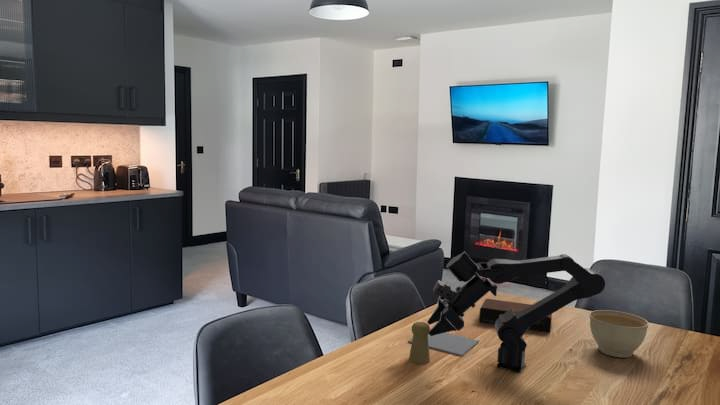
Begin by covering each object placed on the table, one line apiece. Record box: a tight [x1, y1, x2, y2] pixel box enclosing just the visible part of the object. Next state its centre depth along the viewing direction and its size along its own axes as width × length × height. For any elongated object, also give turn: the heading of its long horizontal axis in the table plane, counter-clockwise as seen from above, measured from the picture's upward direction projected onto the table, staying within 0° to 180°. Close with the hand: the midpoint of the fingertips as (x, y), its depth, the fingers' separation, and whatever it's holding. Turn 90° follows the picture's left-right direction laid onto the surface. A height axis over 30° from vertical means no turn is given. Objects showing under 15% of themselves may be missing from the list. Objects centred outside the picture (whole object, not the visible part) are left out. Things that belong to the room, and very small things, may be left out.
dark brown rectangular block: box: [478, 298, 553, 334], centre depth 186 cm, size 24×12×6 cm, turn 68°
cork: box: [408, 321, 431, 365], centre depth 151 cm, size 6×6×11 cm
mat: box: [407, 328, 480, 357], centre depth 165 cm, size 18×14×1 cm
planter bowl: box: [589, 309, 649, 358], centre depth 161 cm, size 16×16×11 cm
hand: (428, 328), depth 150 cm, fingers open, 9 cm apart
